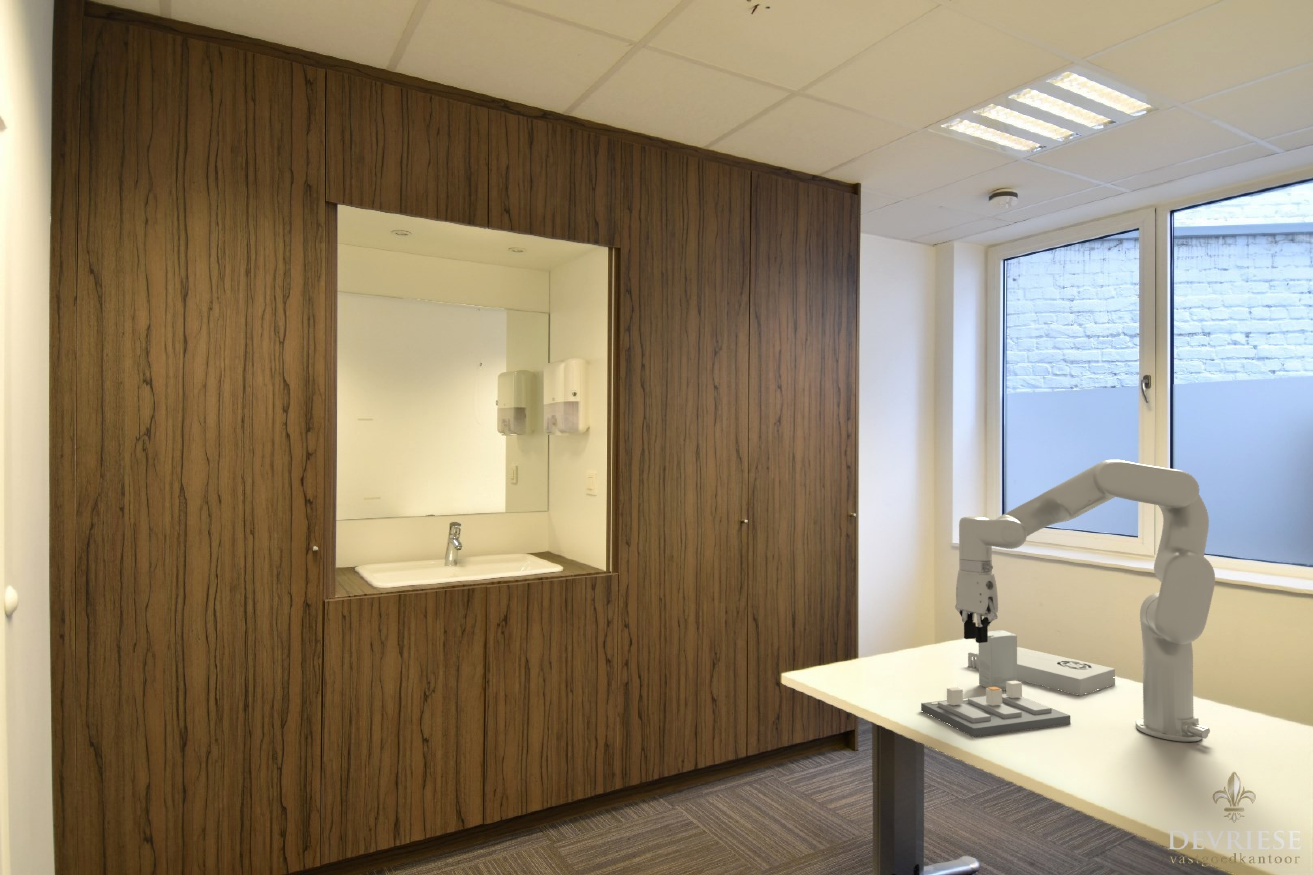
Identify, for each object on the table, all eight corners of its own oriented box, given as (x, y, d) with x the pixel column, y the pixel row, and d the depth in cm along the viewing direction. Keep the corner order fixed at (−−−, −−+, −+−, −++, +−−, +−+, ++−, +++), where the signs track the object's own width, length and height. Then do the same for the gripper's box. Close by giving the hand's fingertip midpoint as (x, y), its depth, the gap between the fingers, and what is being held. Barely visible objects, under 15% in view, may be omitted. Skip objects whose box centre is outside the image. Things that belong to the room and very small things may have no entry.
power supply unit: (1004, 659, 235) (1003, 643, 235) (1115, 686, 208) (1115, 668, 208) (968, 668, 224) (967, 651, 225) (1080, 698, 197) (1080, 679, 197)
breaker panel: (1070, 723, 176) (1070, 711, 176) (973, 737, 167) (973, 723, 167) (1011, 700, 193) (1011, 688, 193) (921, 711, 184) (921, 699, 184)
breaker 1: (962, 704, 180) (962, 689, 180) (952, 705, 179) (952, 690, 179) (956, 701, 182) (956, 686, 182) (946, 702, 181) (946, 688, 181)
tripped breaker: (1002, 704, 180) (1002, 688, 180) (992, 705, 179) (992, 689, 179) (995, 701, 182) (995, 686, 182) (986, 702, 181) (985, 687, 181)
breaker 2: (1022, 696, 185) (1021, 682, 186) (1012, 698, 184) (1012, 683, 185) (1015, 694, 187) (1015, 680, 187) (1006, 695, 186) (1006, 681, 186)
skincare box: (1004, 683, 208) (1003, 629, 208) (1018, 689, 202) (1018, 634, 202) (977, 684, 206) (977, 630, 207) (991, 691, 200) (991, 635, 201)
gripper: (1012, 570, 180) (1013, 647, 180) (964, 561, 196) (964, 632, 195) (987, 571, 178) (988, 649, 177) (940, 562, 193) (940, 634, 193)
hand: (975, 639), depth 186 cm, fingers open, 3 cm apart
